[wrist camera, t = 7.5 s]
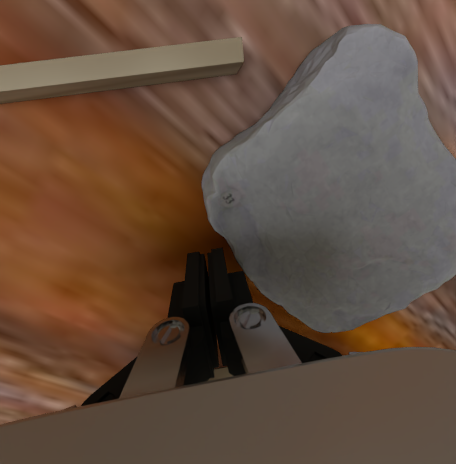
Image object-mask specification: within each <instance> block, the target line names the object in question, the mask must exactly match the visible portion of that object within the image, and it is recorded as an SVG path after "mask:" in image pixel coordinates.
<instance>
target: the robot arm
mask: <svg viewBox="0 0 456 464" xmlns="http://www.w3.org/2000/svg"><path fill="white" fill-rule="evenodd" d="M211 251H212V252H211V253H207V255H208V271H207V266H206V261H205V256H204V254H200V253H199V252H193V253H188V254H187V264H186V273H185V281H182V282H176V283H174V285H173V290H172V296H171V301H170V307H169V313H168V318H166V319H163V320H161V321H159V322H158V323H156V324H155V325H154V326H153V327H152V328H151V329H150V331H149V332H148V334H147V337H146V339H145V341H144V343H143V346H142V348H141V350H140V352H139V355H138V356H137V357H136V358H135V359H134V360H133V361H131V362H130V363H129V364H128V365H127V366H125V367H124V368H123V369H122V370H121V371H119V372H118V373H117V374H116V375H115V376H113V377H112V378H111V379H110V380H108V381H107V382H106V383H105V384H104V385H102V386H101V387H100V388H99V389H98V390H96V391H95V392H94V393H93V394H92V395H90V396H89V397H88V398H87V399H86V400H85V401H84V403H83V404H82V405H81V406H80V407H76V405H74V406H71V407H69V408H66V409H64V410H61V411H56V412H51V413H46V414H42V415H38V416H33V417H29V418H25V419H21V420H17V421H13V422H8V423H4V424H0V464H456V350H449V349H441V348H431V347H406V348H390V349H383V350H377V351H370V352H349V355H345V356H342V355H341V354H340V353H339V352H337V351H335V350H334V349H332V348H329V347H327V346H325V345H322V344H320V343H318V342H315V341H313V340H311V339H308V338H306V337H304V336H301V335H299V334H297V333H294V332H292V331H290V330H287V329H285V328H283V327H280V326H278V324H277V323H276V321H275V320H274V318H273V316H272V315H271V313H270V312H269V310H268V309H267V308H266V307H264V306H262V305H260V304H256V303H253V301H252V297H251V294H250V291H249V288H248V285H247V281H246V278H245V275H244V272H243V271H239V272H234V273H228V274H227V268H226V263H225V258H224V253H223V248H217V249H211ZM208 272H209V276H208ZM216 334H217V336H216ZM217 339H218V344H219V349H220V354H221V359H222V364H223V366H228V371H229V373H230V374H231V375H233V376H232V377H227V378H221V379H216V380H211V381H208V380H209V379H210V378H214V368H216V367H219V361H218V349H217Z"/></svg>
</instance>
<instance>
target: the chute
mask: <svg viewBox="0 0 456 464" xmlns="http://www.w3.org/2000/svg"><path fill="white" fill-rule="evenodd" d="M243 62H244V57H243V45H242V37H238V38H230V39H221V40H213V41H204V42H196V43H187V44H179V45H170V46H162V47H153V48H145V49H137V50H128V51H120V52H111V53H103V54H94V55H86V56H77V57H69V58H60V59H52V60H44V61H35V62H27V63H18V64H10V65H1V66H0V104H3V103H11V102H19V101H27V100H35V99H43V98H51V97H59V96H67V95H75V94H83V93H91V92H99V91H107V90H114V89H122V88H130V87H138V86H146V85H154V84H162V83H170V82H178V81H186V80H194V79H202V78H210V77H218V76H226V75H234V74H237V72H238V70H239V69H240V67H241V65H242V64H243ZM232 376H233V375H231V374H230V373H229V371H228V367H225V368H220V369H215V370H214V378H210V379H209V380H208V381H211V380H216V379H221V378H227V377H232Z"/></svg>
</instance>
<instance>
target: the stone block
mask: <svg viewBox="0 0 456 464" xmlns="http://www.w3.org/2000/svg"><path fill="white" fill-rule="evenodd" d="M202 190H203V196H204V204H205V207H206V211H207V214H208V220H209V222H210V224H211V225H212V227H213V228H214V230H215V231H216V232H218V233H219V234H220V235H222V236H223V237H225V239H226V241H227V242H228V244H229V246H230V247H231V249H232V251H233V254H234V256H235V259H236V261H237V262H238V263H239V265H240V266H241V268H242V269H243V271H244V272H245V274H246V275H247V276H248V278H249V279H250V280H251V281H253V283H254V284H255V286H256V287H257V288H258V289H259V290H260V292H261V293H262V294H264V295H265V296H266V297H267V298H269V299H270V300H271V301H273V302H274V303H276V304H278V305H281V306H283V307H284V309H285V310H286V311H287V312H288V313H289V314H291V315H293V316H295V317H296V318H298V319H299V320H301V321H302V322H303V323H305V324H306V325H307V326H309V327H310V328H312V329H313V330H316V331H318V332H323V333H330V332H333V333H335V332H341V331H348V330H353V329H355V328H357V327H359V326H361V325H363V324H364V323H367V322H370V321H372V320H375V319H378V318H379V317H381V316H383V315H385V314H389V313H392V312H395V311H398V310H402V309H405V308H406V307H407V306H408V305H409V303H410V302H411V301H413V300H415V299H417V298H419V297H420V296H422V295H423V294H424V293H427V292H430V291H433V290H435V289H437V288H439V287H440V286H441V285H442V284H443V283H444V282H446V281H448V280H450V279H451V278H452V277H453V276H455V275H456V159H455V158H454V157H453V155H452V154H451V153H450V152H449V151H448V150H447V148H446V147H445V146H444V145H443V143H442V142H441V140H440V139H439V137H438V136H437V134H436V132H435V131H434V129H433V127H432V125H431V123H430V121H429V120H428V113H427V109H426V106H425V103H424V102H423V100H422V99H421V97H420V95H419V94H418V61H417V58H416V54H415V52H414V50H413V48H412V47H411V45H410V44H409V42H408V40H407V39H406V37H405V36H404V35H401V34H399V33H397V32H394V31H392V30H390V29H389V28H387V27H385V26H383V25H381V24H364V25H355V26H347V27H344V28H342V29H341V30H339V31H338V32H337V33H335V34H334V35H332V36H331V37H330V38H328V39H327V40H326V41H325V42H323V43H322V44H321V45H320V46H318V47H317V48H315V49H313V50H312V51H311V52H310V53H309V55H308V56H307V57H306V58H305V60H304V61H303V62H302V64H301V65H300V66H299V68H298V69H297V71H296V73H295V74H294V76H293V77H292V78H291V80H290V81H289V82H288V83H287V85H286V87H285V89H284V91H283V92H282V93H281V94H280V95H279V96H278V97H277V99H276V100H275V102H274V103H273V105H272V106H271V108H270V110H269V111H268V112H267V113H266V114H265V115H264V116H263V117H262V118H261V119H260V120H259V121H258V122H257V123H256V124H254V125H253V126H251V127H249V128H248V129H246V130H245V131H243V132H241V133H239V134H237V135H236V136H235V137H234V138H233V139H232V140H231V141H229V142H228V143H226V144H225V145H223V146H221V147H220V148H219V149H218V150H216V151H215V153H214V154H213V155H212V158H211V161H210V163H209V165H208V167H207V168H206V170H205V172H204V174H203V178H202Z"/></svg>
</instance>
